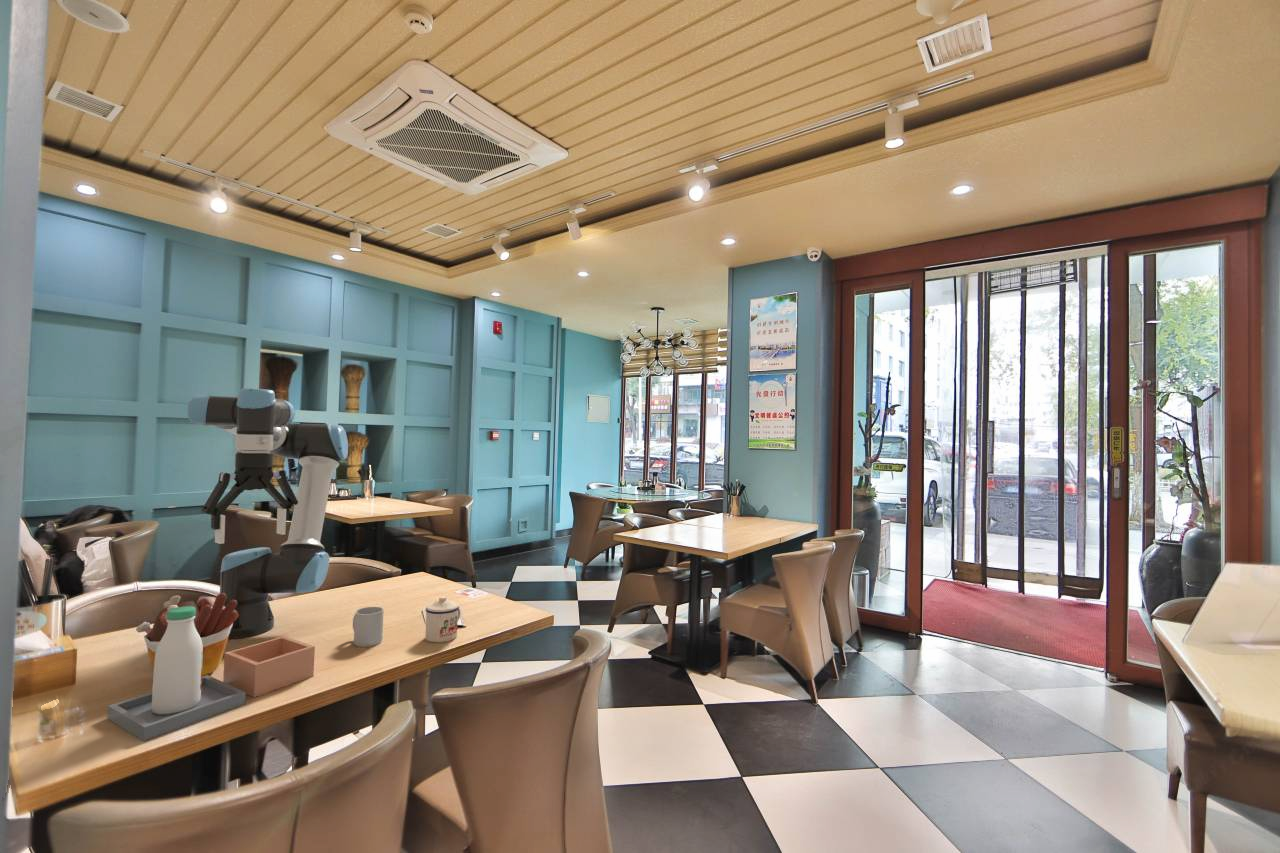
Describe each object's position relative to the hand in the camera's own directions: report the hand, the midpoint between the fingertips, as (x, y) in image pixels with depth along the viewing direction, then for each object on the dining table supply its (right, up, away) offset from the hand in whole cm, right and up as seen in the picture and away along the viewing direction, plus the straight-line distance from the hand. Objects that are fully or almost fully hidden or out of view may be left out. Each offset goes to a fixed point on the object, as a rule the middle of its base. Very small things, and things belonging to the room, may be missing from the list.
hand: (251, 538), depth 134 cm
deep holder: (+8, -32, -6) cm, 34 cm away
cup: (+18, -33, +20) cm, 43 cm away
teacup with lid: (+38, -34, +26) cm, 57 cm away
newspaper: (+32, -35, +41) cm, 63 cm away
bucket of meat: (-12, -32, -4) cm, 34 cm away
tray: (0, -31, -21) cm, 38 cm away
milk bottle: (0, -31, -22) cm, 37 cm away
